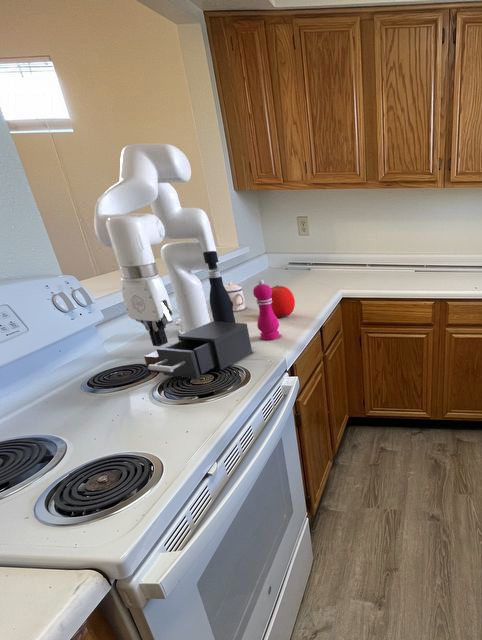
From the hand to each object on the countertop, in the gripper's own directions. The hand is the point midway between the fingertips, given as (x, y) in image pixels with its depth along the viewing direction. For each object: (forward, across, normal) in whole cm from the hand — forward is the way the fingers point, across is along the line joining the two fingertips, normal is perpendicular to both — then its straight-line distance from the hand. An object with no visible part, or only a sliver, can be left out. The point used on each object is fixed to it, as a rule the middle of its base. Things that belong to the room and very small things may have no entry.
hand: (160, 344), depth 106 cm
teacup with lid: (+13, -34, +70) cm, 79 cm away
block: (+12, -13, +8) cm, 19 cm away
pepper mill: (+12, +3, +40) cm, 42 cm away
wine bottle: (+12, -7, +31) cm, 34 cm away
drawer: (+11, 0, +7) cm, 13 cm away
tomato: (+12, -8, +64) cm, 66 cm away
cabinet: (+12, 0, +18) cm, 22 cm away
